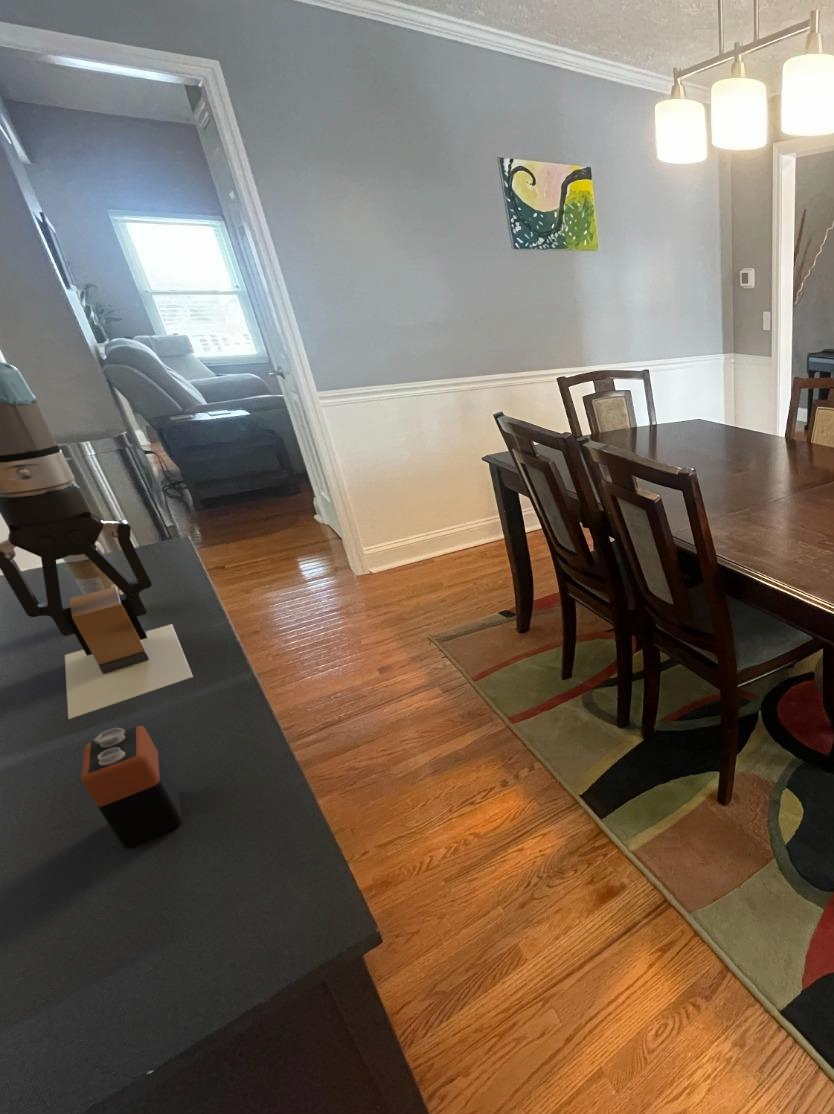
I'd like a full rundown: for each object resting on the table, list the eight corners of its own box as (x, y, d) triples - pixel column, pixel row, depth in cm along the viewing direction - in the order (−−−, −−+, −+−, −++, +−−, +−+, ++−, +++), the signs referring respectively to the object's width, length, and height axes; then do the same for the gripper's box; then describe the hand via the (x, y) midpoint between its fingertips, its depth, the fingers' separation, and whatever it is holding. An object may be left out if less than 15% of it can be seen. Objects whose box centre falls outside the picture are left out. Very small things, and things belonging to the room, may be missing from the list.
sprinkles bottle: (143, 614, 101) (107, 540, 95) (112, 627, 97) (73, 552, 91) (122, 612, 102) (84, 539, 96) (90, 625, 98) (49, 550, 92)
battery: (180, 789, 64) (139, 715, 60) (183, 826, 60) (140, 748, 56) (124, 812, 62) (78, 736, 57) (124, 852, 57) (73, 772, 53)
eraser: (98, 650, 88) (69, 597, 85) (142, 637, 92) (115, 585, 88) (103, 674, 83) (71, 618, 79) (149, 659, 86) (121, 605, 82)
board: (67, 660, 88) (64, 654, 88) (174, 629, 96) (171, 623, 96) (71, 725, 74) (68, 719, 74) (196, 682, 82) (193, 676, 82)
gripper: (-80, 513, 68) (25, 681, 78) (132, 479, 80) (201, 628, 90) (-73, 500, 73) (25, 660, 82) (127, 469, 85) (193, 612, 94)
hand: (117, 643), depth 86 cm, fingers closed on eraser, 5 cm apart
